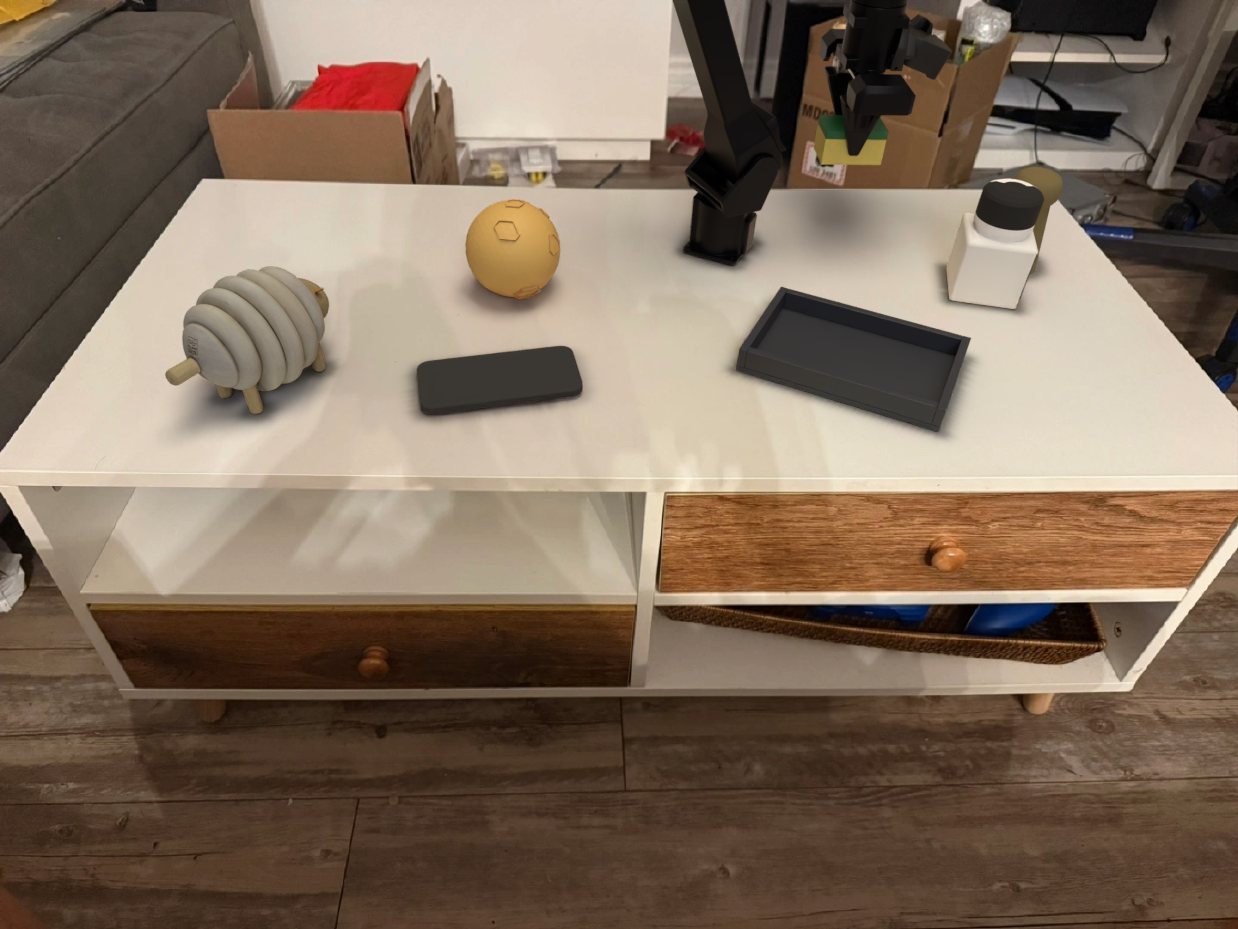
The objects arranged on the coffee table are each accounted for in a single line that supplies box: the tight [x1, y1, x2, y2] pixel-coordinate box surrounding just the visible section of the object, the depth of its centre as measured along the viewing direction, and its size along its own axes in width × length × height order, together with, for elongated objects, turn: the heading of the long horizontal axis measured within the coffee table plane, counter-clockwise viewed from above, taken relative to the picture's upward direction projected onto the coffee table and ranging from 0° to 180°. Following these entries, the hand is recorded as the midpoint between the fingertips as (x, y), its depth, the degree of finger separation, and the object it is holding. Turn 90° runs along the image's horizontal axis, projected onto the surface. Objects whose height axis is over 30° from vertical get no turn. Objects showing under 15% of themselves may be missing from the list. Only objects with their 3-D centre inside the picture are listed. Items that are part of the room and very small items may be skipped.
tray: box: [735, 286, 972, 433], centre depth 87 cm, size 20×13×3 cm, turn 64°
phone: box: [416, 345, 584, 415], centre depth 84 cm, size 7×1×15 cm
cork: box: [1012, 166, 1064, 275], centre depth 99 cm, size 6×6×11 cm
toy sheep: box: [164, 265, 330, 415], centre depth 79 cm, size 11×17×11 cm, turn 151°
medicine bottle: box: [945, 178, 1044, 310], centre depth 94 cm, size 7×7×12 cm
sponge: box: [813, 114, 890, 166], centre depth 102 cm, size 7×4×4 cm, turn 92°
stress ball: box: [464, 198, 561, 300], centre depth 92 cm, size 10×10×10 cm
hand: (848, 146), depth 103 cm, fingers closed on sponge, 4 cm apart
